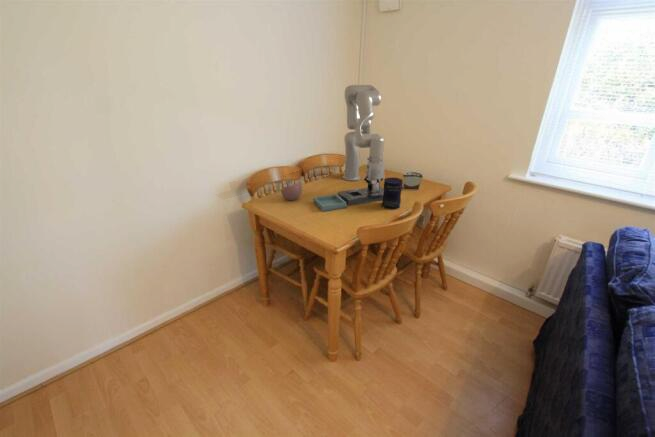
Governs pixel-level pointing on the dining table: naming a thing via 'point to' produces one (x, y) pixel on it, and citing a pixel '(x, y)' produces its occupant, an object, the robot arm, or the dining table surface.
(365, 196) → the grey block with hole
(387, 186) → the storage jar
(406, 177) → the food container
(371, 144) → the robot arm
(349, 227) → the dining table surface
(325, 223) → the dining table surface
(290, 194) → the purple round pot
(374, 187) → the steel block
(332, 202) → the parts tray
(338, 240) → the dining table surface
